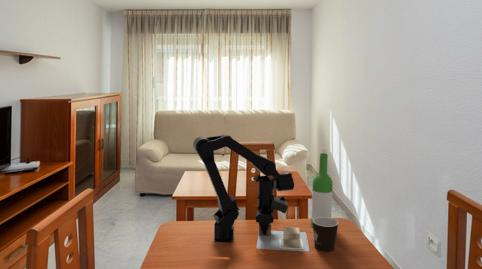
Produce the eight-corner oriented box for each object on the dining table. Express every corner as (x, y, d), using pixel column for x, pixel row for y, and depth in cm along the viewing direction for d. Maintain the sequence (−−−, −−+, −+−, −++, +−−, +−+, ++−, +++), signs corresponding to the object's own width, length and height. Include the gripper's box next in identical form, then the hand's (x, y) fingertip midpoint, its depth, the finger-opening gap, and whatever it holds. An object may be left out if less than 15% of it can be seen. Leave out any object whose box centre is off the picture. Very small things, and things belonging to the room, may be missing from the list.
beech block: (283, 247, 123) (283, 233, 122) (283, 240, 128) (283, 227, 128) (299, 247, 122) (299, 234, 122) (298, 241, 128) (298, 227, 127)
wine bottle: (306, 226, 143) (309, 153, 139) (319, 222, 147) (322, 151, 143) (321, 233, 136) (325, 156, 132) (334, 228, 141) (338, 154, 137)
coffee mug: (337, 256, 118) (339, 227, 116) (311, 253, 119) (312, 225, 118) (335, 241, 129) (337, 215, 128) (311, 239, 131) (312, 213, 129)
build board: (256, 250, 122) (256, 247, 122) (258, 231, 137) (258, 229, 137) (309, 253, 120) (309, 250, 120) (305, 233, 136) (305, 231, 136)
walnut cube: (258, 235, 132) (258, 224, 132) (259, 230, 137) (259, 219, 136) (270, 236, 132) (271, 224, 131) (271, 231, 136) (271, 220, 136)
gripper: (288, 200, 122) (287, 243, 124) (286, 185, 140) (285, 223, 142) (256, 199, 123) (255, 242, 125) (258, 184, 141) (258, 222, 144)
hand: (265, 231), depth 134 cm, fingers closed on walnut cube, 4 cm apart
